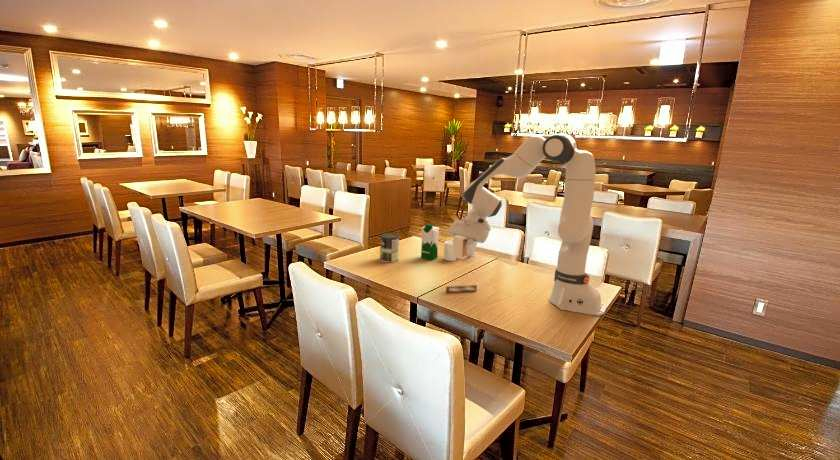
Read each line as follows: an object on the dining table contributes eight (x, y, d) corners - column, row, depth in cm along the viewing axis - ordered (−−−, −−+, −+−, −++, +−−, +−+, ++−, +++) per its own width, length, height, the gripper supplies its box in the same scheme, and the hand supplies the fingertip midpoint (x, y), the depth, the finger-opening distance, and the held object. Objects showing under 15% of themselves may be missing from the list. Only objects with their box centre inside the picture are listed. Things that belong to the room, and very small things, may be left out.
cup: (465, 258, 222) (466, 235, 219) (453, 252, 232) (454, 230, 229) (482, 256, 228) (484, 233, 225) (470, 250, 238) (471, 229, 235)
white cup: (456, 262, 215) (457, 244, 213) (442, 260, 216) (443, 243, 214) (458, 258, 222) (459, 241, 220) (444, 256, 224) (445, 240, 222)
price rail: (475, 289, 176) (475, 284, 176) (476, 291, 175) (476, 286, 174) (446, 291, 173) (446, 286, 172) (447, 292, 171) (447, 287, 171)
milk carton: (418, 258, 219) (419, 224, 215) (426, 254, 227) (428, 221, 222) (431, 261, 215) (433, 226, 210) (439, 257, 222) (441, 223, 218)
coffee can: (382, 263, 208) (382, 238, 205) (378, 257, 218) (378, 233, 214) (400, 262, 211) (401, 237, 208) (396, 256, 221) (396, 232, 218)
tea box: (453, 257, 180) (454, 236, 178) (458, 255, 183) (459, 235, 181) (461, 259, 177) (462, 238, 175) (466, 257, 180) (468, 237, 178)
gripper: (453, 214, 188) (439, 237, 183) (489, 221, 174) (475, 246, 169) (459, 222, 192) (445, 244, 187) (493, 229, 178) (480, 254, 174)
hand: (459, 245), depth 178 cm, fingers closed on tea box, 5 cm apart
